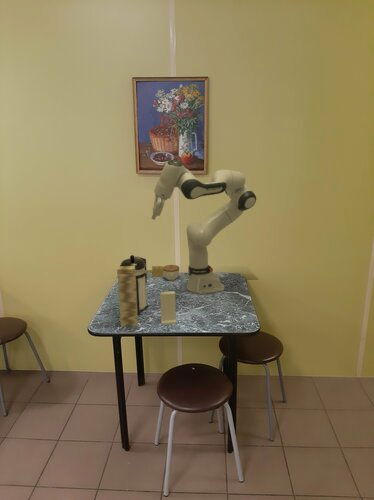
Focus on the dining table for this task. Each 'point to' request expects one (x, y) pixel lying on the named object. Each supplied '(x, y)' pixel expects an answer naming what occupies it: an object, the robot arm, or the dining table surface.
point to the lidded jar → (171, 272)
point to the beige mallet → (153, 271)
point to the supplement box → (145, 266)
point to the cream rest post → (168, 308)
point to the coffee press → (138, 281)
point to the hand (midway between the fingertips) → (153, 214)
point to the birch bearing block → (127, 295)
